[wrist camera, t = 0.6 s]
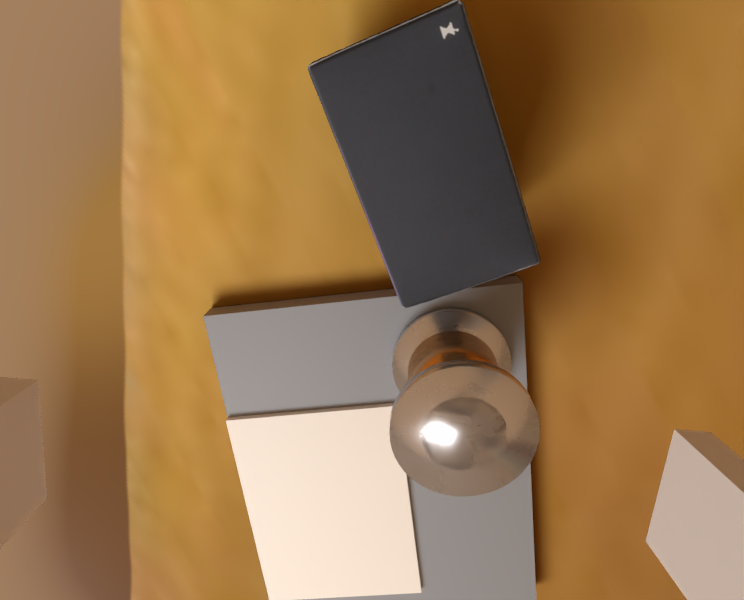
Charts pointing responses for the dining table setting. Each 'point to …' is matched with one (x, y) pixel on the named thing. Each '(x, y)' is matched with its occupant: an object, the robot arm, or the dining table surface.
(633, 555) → the dining table surface
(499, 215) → the small box
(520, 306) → the board
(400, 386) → the bobbin
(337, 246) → the dining table surface
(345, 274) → the dining table surface
